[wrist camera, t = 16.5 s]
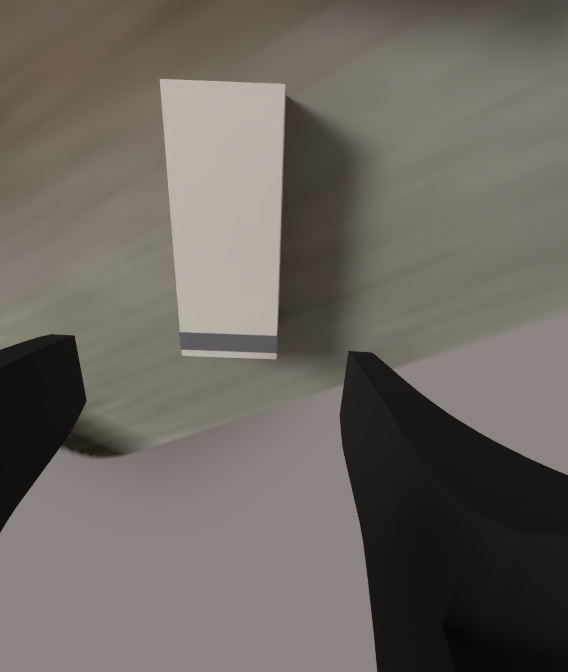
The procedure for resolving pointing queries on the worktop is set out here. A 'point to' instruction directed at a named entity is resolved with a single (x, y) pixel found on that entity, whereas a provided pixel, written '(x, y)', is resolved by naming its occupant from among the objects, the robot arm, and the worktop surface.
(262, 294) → the bar
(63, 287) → the worktop surface
